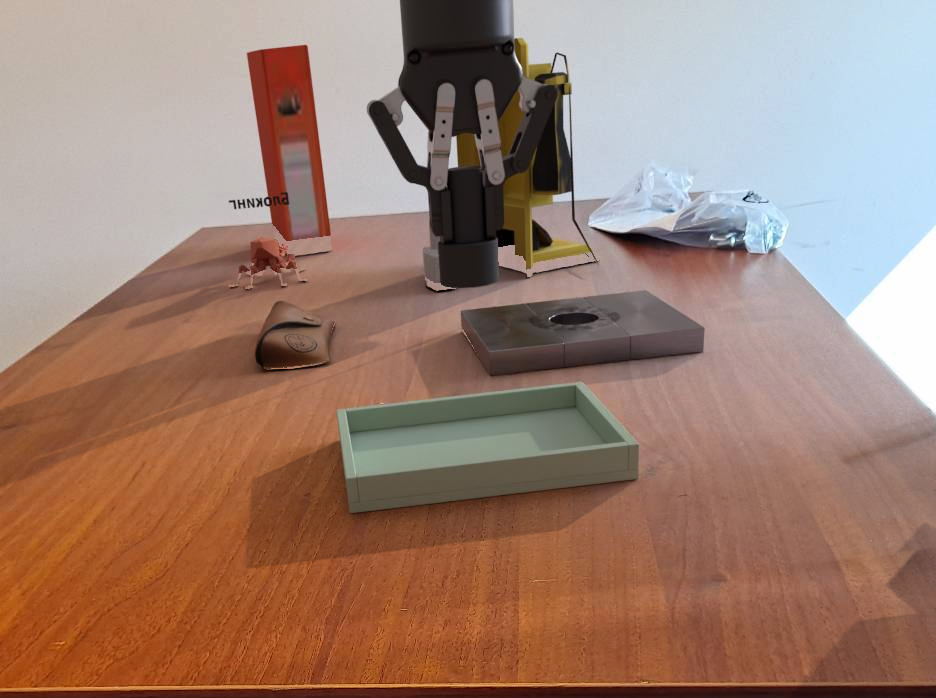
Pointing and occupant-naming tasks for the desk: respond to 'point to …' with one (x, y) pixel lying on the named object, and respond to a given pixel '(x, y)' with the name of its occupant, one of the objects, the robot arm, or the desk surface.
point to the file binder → (289, 140)
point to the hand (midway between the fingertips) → (468, 238)
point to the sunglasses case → (293, 338)
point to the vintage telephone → (533, 169)
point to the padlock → (432, 258)
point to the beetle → (267, 244)
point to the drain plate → (579, 332)
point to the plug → (468, 234)
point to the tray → (481, 446)
